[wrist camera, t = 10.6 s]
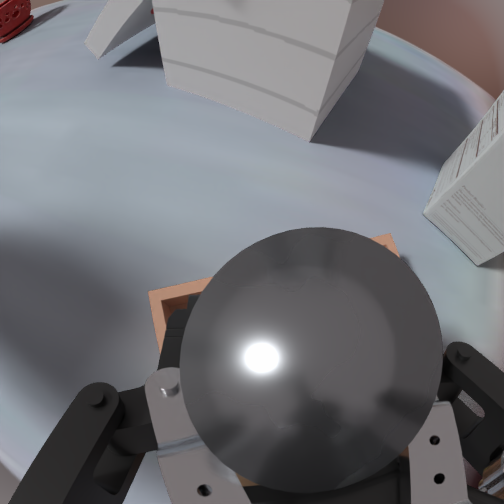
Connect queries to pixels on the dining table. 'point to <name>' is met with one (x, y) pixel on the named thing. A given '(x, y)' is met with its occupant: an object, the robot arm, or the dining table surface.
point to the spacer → (311, 360)
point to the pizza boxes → (252, 51)
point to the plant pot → (14, 18)
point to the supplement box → (474, 190)
